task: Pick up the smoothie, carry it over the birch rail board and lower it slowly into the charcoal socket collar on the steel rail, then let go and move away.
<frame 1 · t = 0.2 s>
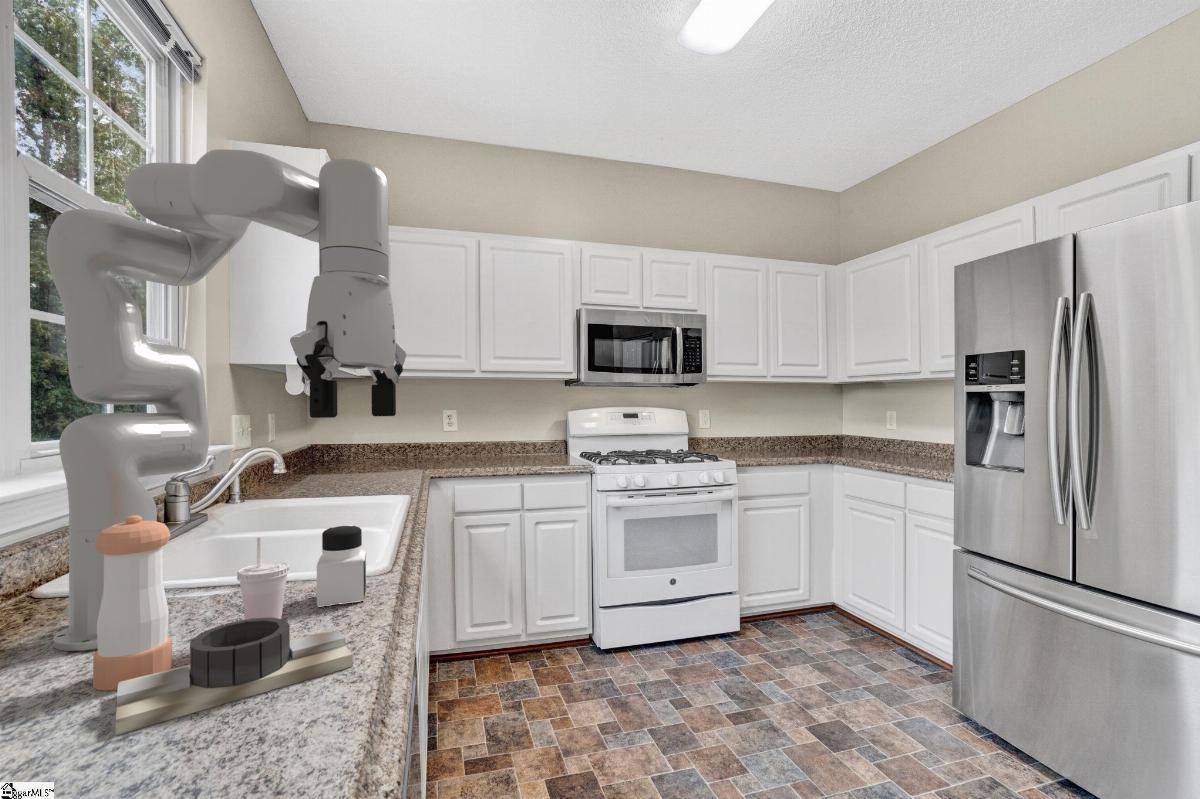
hand: (355, 416, 65), 31 cm above the counter, tool pointing down, fingers open, 9 cm apart
pepper shaker: (133, 677, 67), on the counter
medicine bottle: (342, 599, 93), on the counter
smoothie: (264, 638, 78), on the counter
socket rail: (241, 680, 65), on the counter
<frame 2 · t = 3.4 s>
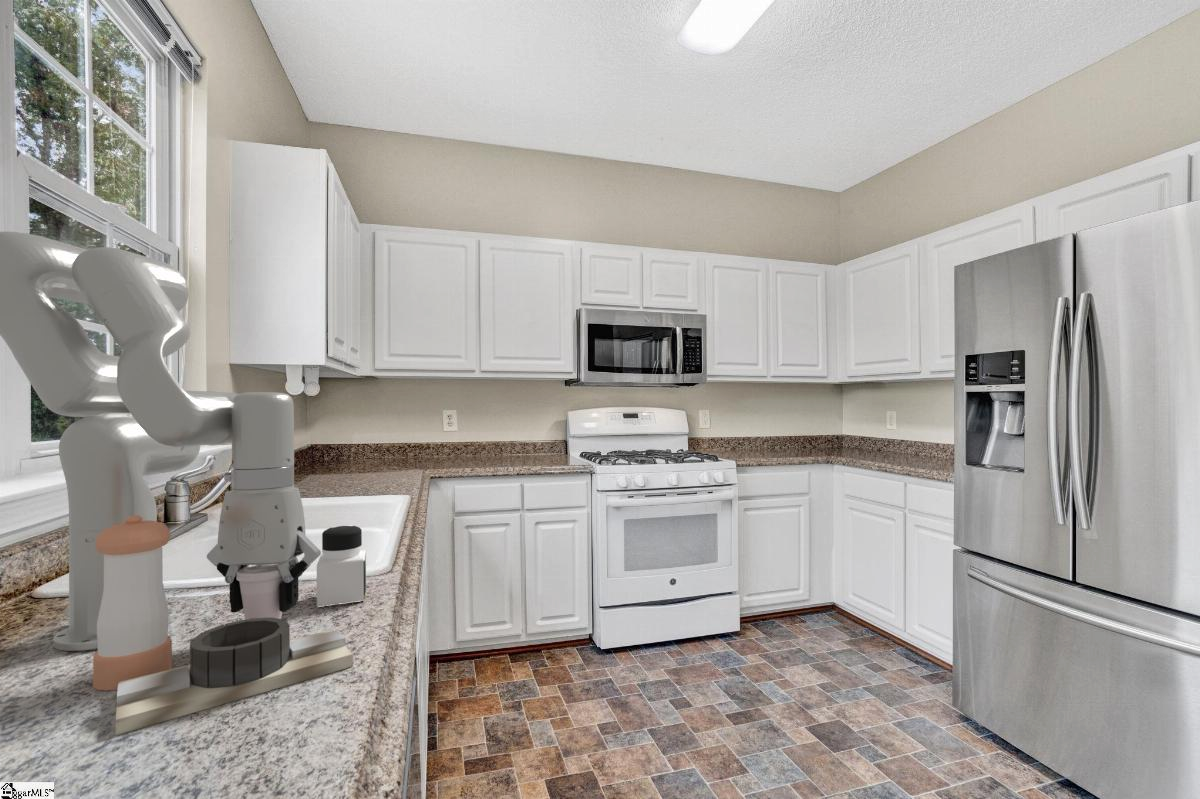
hand: (264, 607, 78), 4 cm above the counter, tool pointing down, fingers closed on smoothie, 6 cm apart
smoothie: (264, 638, 78), on the counter, touching gripper
everything else where it was.
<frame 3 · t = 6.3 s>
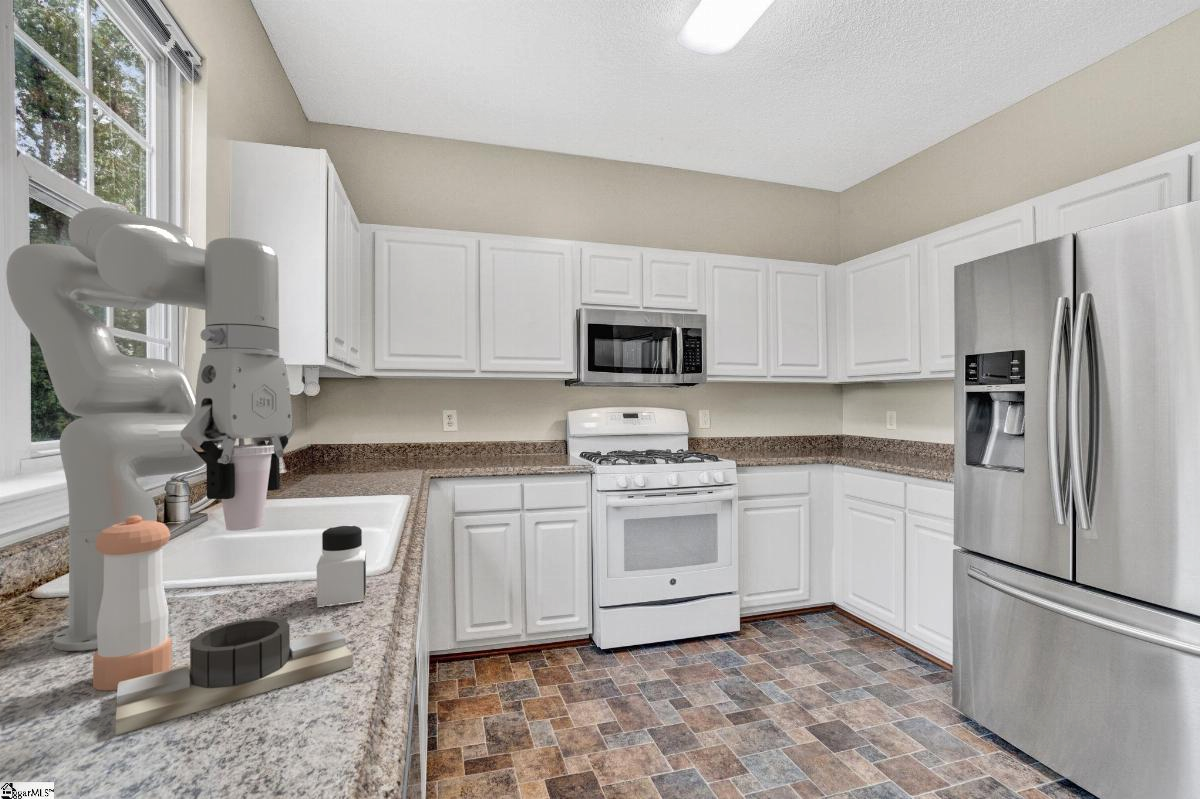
hand: (245, 492, 66), 22 cm above the counter, tool pointing down, fingers closed on smoothie, 6 cm apart
smoothie: (244, 529, 66), point 18 cm above the counter, touching gripper
everything else where it was.
when the fingers open (7 cm above the counter, at t = 8.9 s): smoothie drops 2 cm, resting on socket rail.
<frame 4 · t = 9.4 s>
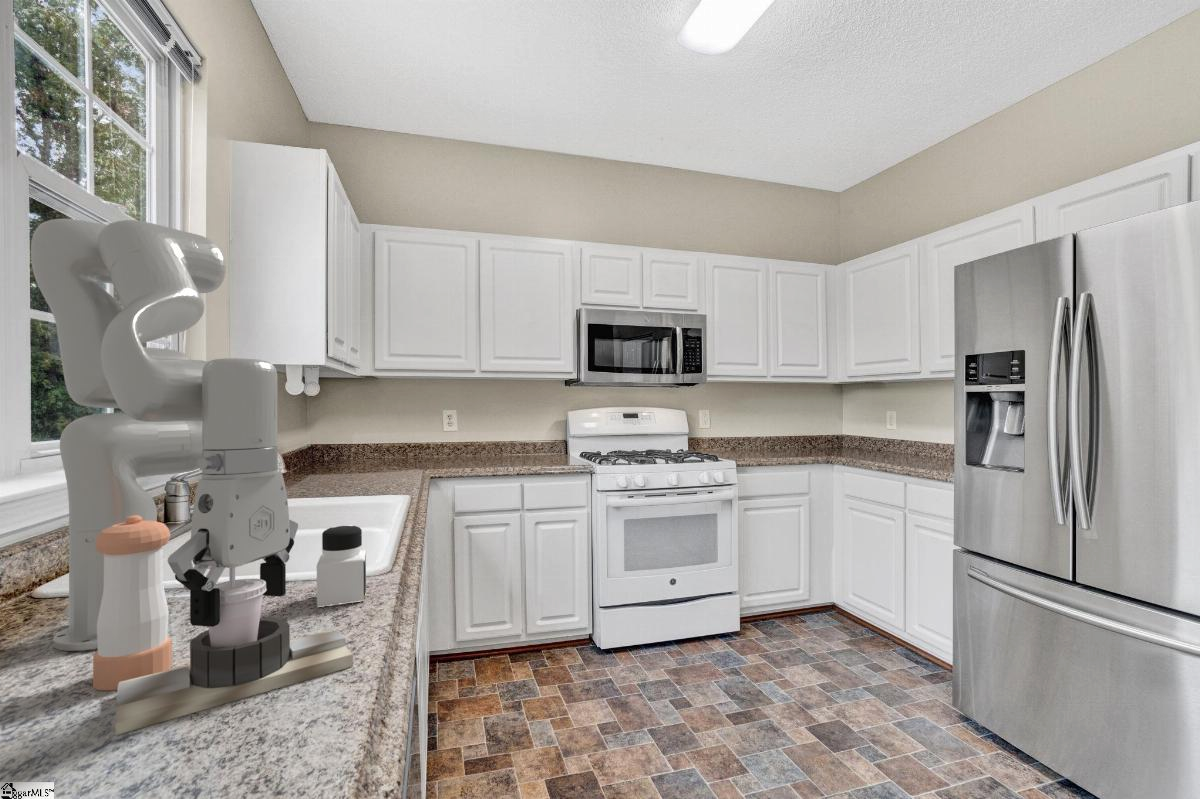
hand: (241, 609, 65), 8 cm above the counter, tool pointing down, fingers open, 9 cm apart
smoothie: (234, 671, 64), point 1 cm above the counter, touching socket rail
everything else where it was.
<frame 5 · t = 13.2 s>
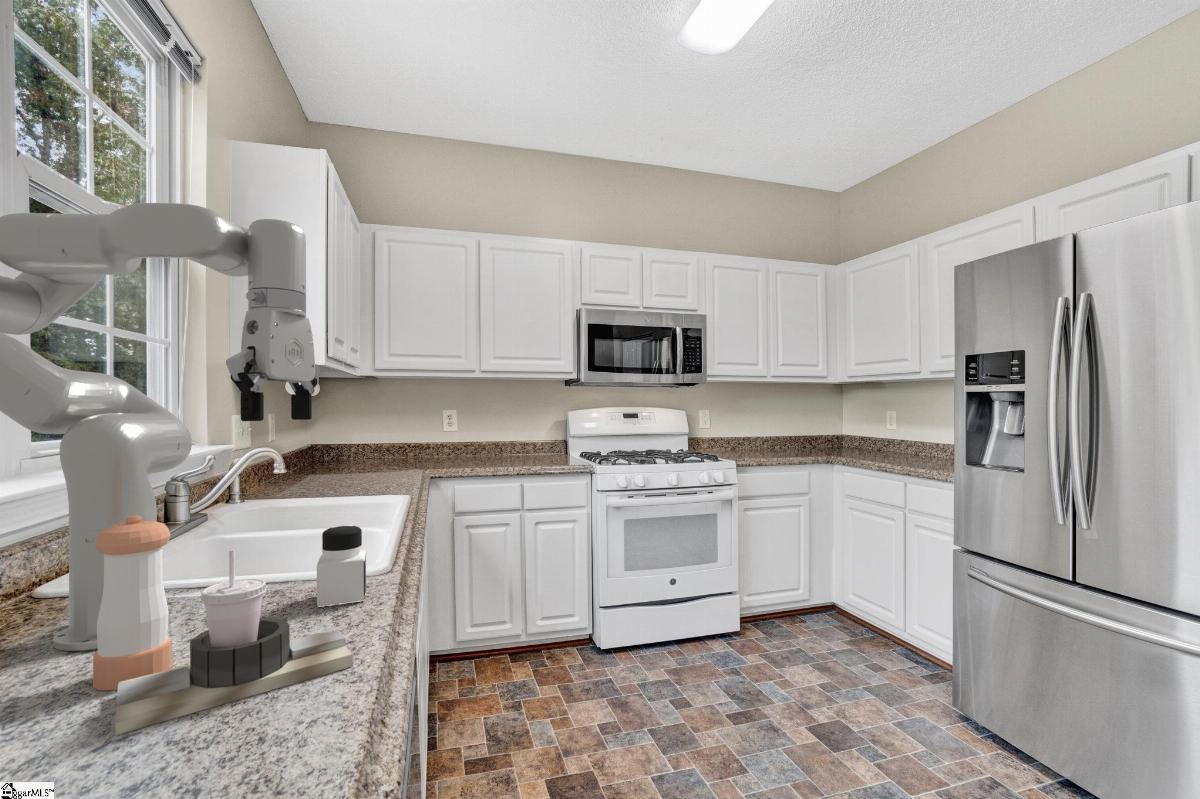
hand: (278, 420, 83), 30 cm above the counter, tool pointing down, fingers open, 9 cm apart
nothing on the counter moved.
at the end: smoothie 0.8 cm off-centre on the socket rail, point 1.3 cm above the socket rail's base; smoothie tilted 0°; the gripper is holding nothing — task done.
